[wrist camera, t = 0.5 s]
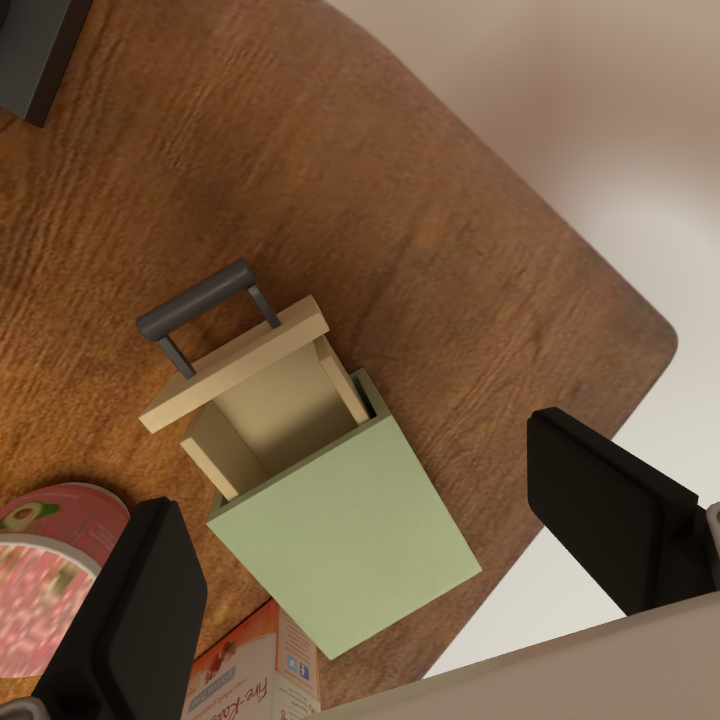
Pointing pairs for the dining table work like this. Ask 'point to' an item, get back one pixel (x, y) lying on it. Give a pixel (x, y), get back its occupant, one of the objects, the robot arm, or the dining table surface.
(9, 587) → the container
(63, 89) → the dining table surface
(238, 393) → the drawer
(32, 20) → the button box
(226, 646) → the cracker box
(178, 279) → the dining table surface
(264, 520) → the cabinet
